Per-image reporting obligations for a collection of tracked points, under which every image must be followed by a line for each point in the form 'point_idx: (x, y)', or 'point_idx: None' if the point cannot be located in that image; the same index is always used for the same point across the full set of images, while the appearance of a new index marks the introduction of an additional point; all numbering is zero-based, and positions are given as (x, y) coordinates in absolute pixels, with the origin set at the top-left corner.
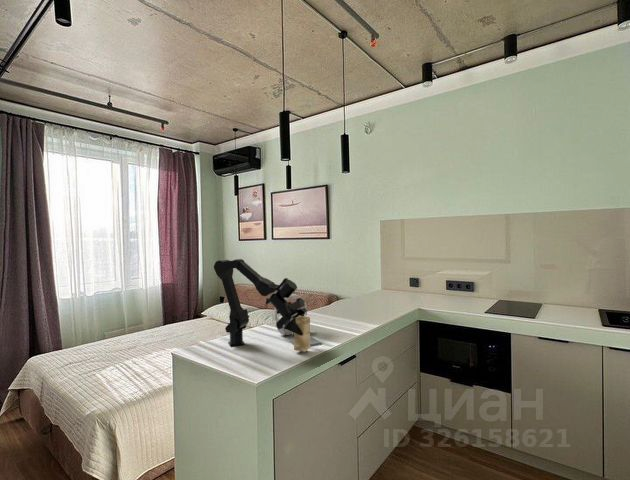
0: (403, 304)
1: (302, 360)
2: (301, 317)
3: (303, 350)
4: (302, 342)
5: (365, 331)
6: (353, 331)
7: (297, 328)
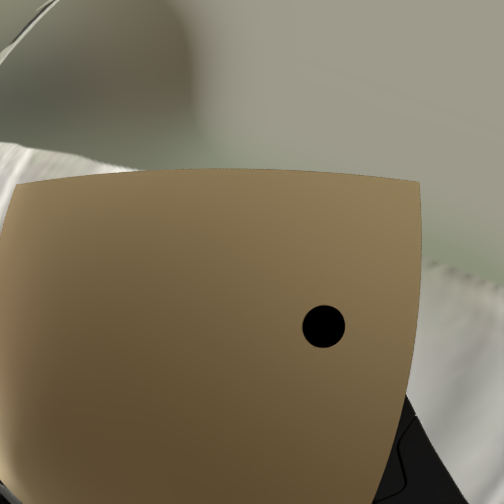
0: None
1: (443, 281)
2: (46, 443)
3: (338, 318)
4: (340, 327)
5: (13, 146)
6: (4, 183)
7: (411, 413)
